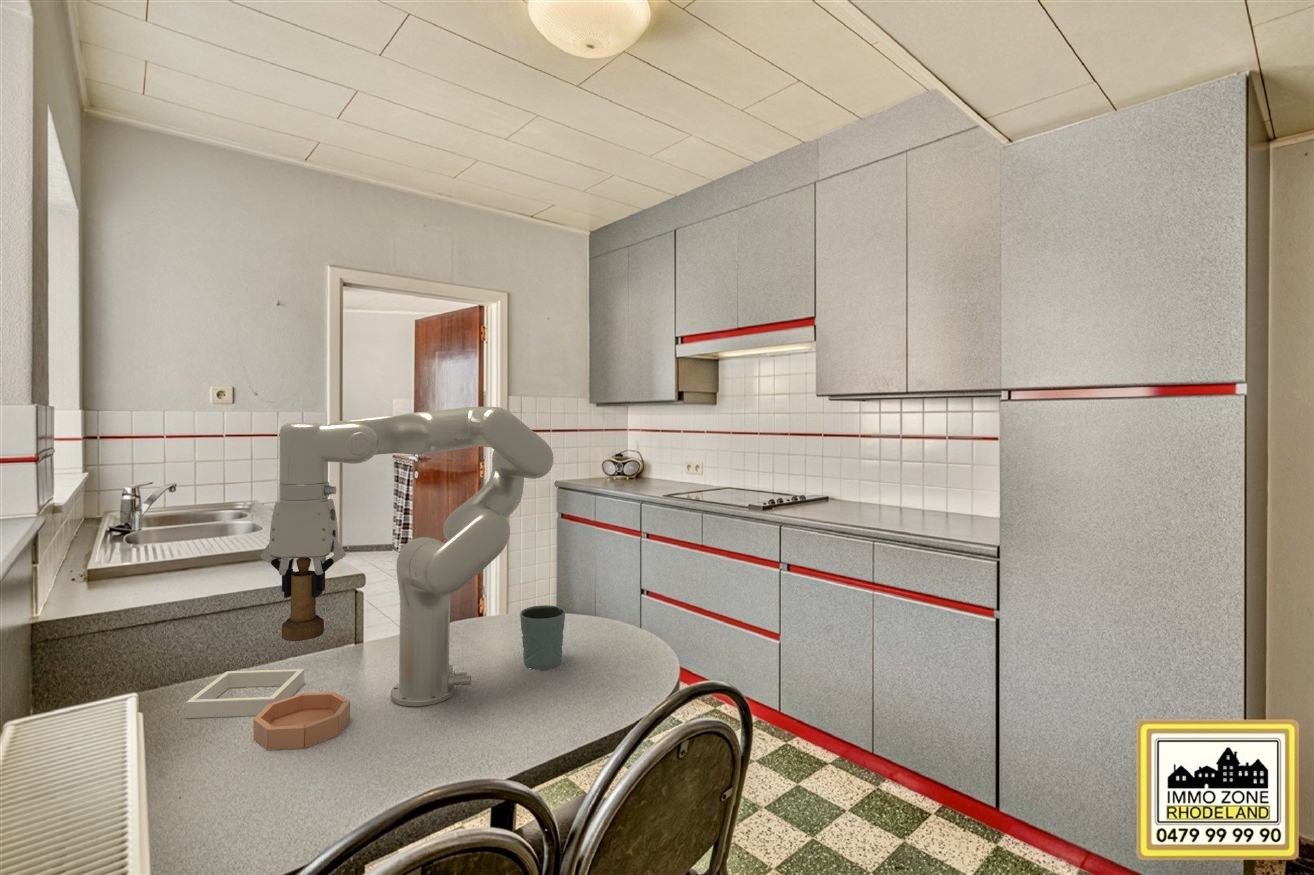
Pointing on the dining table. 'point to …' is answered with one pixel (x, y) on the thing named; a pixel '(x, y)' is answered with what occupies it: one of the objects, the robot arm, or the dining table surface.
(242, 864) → the dining table surface
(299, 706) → the terracotta bowl
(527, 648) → the drinking glass
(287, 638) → the dark brown knobbed post
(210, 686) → the open rectangular frame
